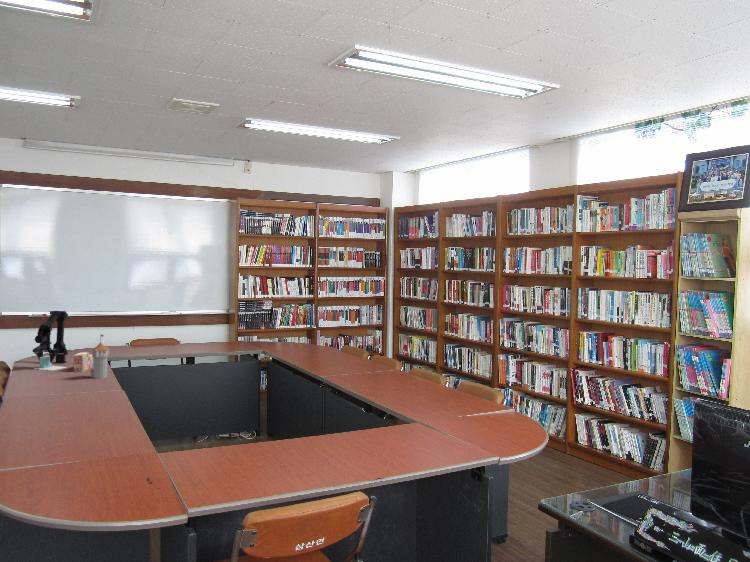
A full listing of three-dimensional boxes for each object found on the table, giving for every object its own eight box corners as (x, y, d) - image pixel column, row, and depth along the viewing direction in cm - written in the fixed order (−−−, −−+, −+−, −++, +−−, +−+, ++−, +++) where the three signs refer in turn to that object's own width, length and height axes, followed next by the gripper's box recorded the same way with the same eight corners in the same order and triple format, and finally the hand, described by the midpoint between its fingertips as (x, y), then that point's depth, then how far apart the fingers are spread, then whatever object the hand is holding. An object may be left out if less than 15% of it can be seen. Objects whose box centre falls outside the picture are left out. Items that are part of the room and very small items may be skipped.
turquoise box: (47, 366, 442) (47, 355, 441) (51, 366, 441) (51, 356, 440) (39, 368, 435) (39, 357, 435) (44, 368, 434) (44, 357, 434)
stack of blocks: (84, 366, 448) (84, 350, 447) (93, 366, 449) (93, 350, 448) (73, 372, 427) (73, 354, 426) (82, 372, 427) (82, 355, 427)
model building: (100, 379, 402) (100, 335, 401) (84, 378, 404) (84, 334, 403) (113, 375, 415) (113, 333, 414) (98, 374, 418) (98, 332, 417)
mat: (48, 366, 446) (48, 365, 446) (66, 367, 442) (66, 366, 442) (33, 369, 432) (33, 368, 432) (51, 370, 428) (51, 370, 428)
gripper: (26, 342, 432) (26, 363, 432) (47, 343, 427) (47, 365, 428) (38, 340, 442) (38, 360, 443) (59, 341, 438) (59, 362, 438)
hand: (45, 362), depth 438 cm, fingers open, 9 cm apart
